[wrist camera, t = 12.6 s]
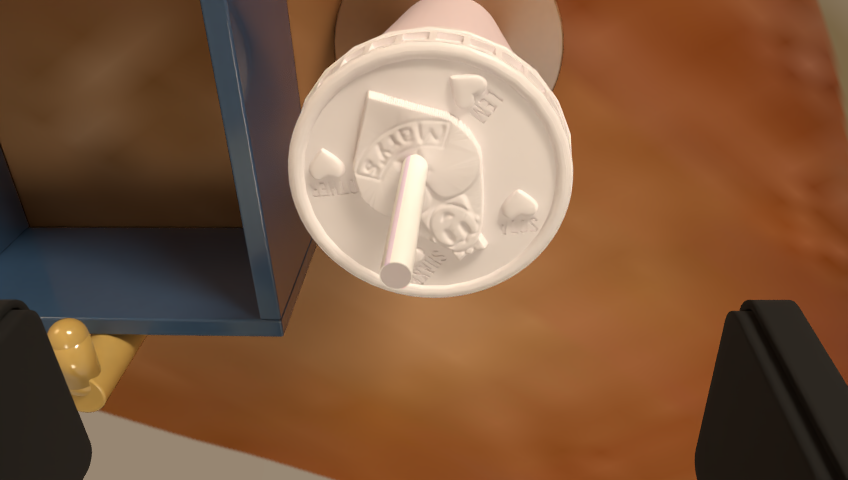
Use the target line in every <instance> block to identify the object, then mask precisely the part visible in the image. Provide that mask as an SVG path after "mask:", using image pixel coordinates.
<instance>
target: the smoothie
mask: <svg viewBox="0 0 848 480" xmlns="http://www.w3.org/2000/svg"><path fill="white" fill-rule="evenodd" d="M288 175H289V184H290V189H291V193H292V197H293V201H294V204H295V207H296V209H297V212H298V214H299V216H300V218H301V220H302V222H303V224H304V226H305V227H306V229H307V231H308V232H309V234H310V235H311V237H312V238H313V239H314V241H315V242H316V243H317V244H318V246H319V247H320V248H321V249H322V250H323V251H324V252H325V253H326V254H327V255H328V256H329V257H330V258H331V259H332V260H333V261H334V262H336V263H337V264H338V265H339V266H341V267H342V268H343V269H345V270H346V271H348V272H349V273H351V274H352V275H354V276H356V277H357V278H359V279H361V280H363V281H365V282H367V283H369V284H371V285H374V286H376V287H379V288H382V289H384V290H387V291H391V292H394V293H398V294H403V295H408V296H416V297H428V298H442V297H454V296H461V295H466V294H471V293H475V292H478V291H481V290H485V289H487V288H490V287H492V286H495V285H497V284H499V283H501V282H503V281H505V280H507V279H509V278H511V277H512V276H514V275H516V274H517V273H519V272H520V271H521V270H523V269H524V268H525V267H527V266H528V265H529V264H530V263H531V262H533V261H534V260H535V259H536V258H537V257H538V256H539V255H540V254H541V253H542V251H543V250H544V249H545V248H546V247H547V246H548V244H549V243H550V242H551V240H552V239H553V237H554V236H555V234H556V232H557V231H558V229H559V227H560V225H561V223H562V221H563V219H564V217H565V214H566V211H567V208H568V205H569V201H570V197H571V192H572V183H573V163H572V153H571V134H570V131H569V129H568V126H567V123H566V120H565V117H564V115H563V112H562V109H561V106H560V103H559V101H558V99H557V98H556V97H555V95H554V94H553V92H552V91H551V90H550V88H549V87H548V86H547V84H546V83H545V82H544V80H543V79H542V77H541V76H540V75H539V73H538V72H537V71H536V70H535V69H534V68H533V67H531V66H530V65H529V64H527V63H526V62H525V61H524V60H522V59H521V58H520V57H518V56H517V55H516V54H515V53H513V51H512V50H511V48H510V46H509V44H508V43H507V41H506V39H505V38H504V36H503V34H502V33H501V31H500V29H499V27H498V26H497V24H496V22H495V21H494V19H493V18H492V16H491V15H490V14H489V13H488V12H487V11H486V10H485V9H484V8H483V7H482V6H481V5H479V4H478V3H476V2H475V1H473V0H421V1H419V2H417V3H416V4H414V5H413V6H411V7H410V8H409V9H408V10H407V11H406V12H405V13H404V14H403V15H402V16H401V17H400V18H399V19H398V20H397V21H396V22H395V23H394V24H393V25H391V26H390V27H389V28H388V29H387V30H386V31H385V32H384V33H383V34H382V35H380V36H378V37H376V38H373V39H371V40H368V41H366V42H364V43H361V44H359V45H357V46H354V47H353V48H352V49H351V50H349V51H348V52H347V53H346V54H344V55H343V56H342V57H341V58H339V59H338V60H337V61H336V62H334V63H333V64H332V65H331V66H329V67H328V68H327V69H326V70H325V71H324V72H323V74H322V75H321V77H320V78H319V80H318V81H317V82H316V84H315V85H314V87H313V88H312V90H311V91H310V93H309V94H308V96H307V97H306V98H305V101H304V104H303V107H302V110H301V113H300V116H299V118H298V120H297V122H296V125H295V128H294V131H293V134H292V138H291V142H290V147H289V156H288Z"/></svg>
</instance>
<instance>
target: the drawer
mask: <svg viewBox="0 0 848 480" xmlns="http://www.w3.org/2000/svg"><path fill="white" fill-rule="evenodd" d="M200 3H201V9H202V14H203V19H204V25H205V30H206V35H207V40H208V46H209V51H210V56H211V61H212V67H213V72H214V77H215V82H216V88H217V93H218V98H219V104H220V109H221V114H222V119H223V125H224V130H225V135H226V140H227V146H228V151H229V156H230V161H231V167H232V172H233V177H234V183H235V188H236V193H237V198H238V204H239V209H240V214H241V219H242V225H243V228H117V227H29V224H28V221H27V218H26V216H25V213H24V210H23V207H22V205H21V202H20V199H19V196H18V194H17V191H16V188H15V185H14V182H13V180H12V177H11V174H10V171H9V169H8V166H7V163H6V160H5V158H4V155H3V152H2V149H1V147H0V299H16V300H21V301H23V302H24V303H25V304H26V305H27V306H28V308H29V310H33V311H35V312H37V313H38V314H39V316H40V318H41V320H42V323H43V325H44V328H45V330H46V333H47V335H48V338H49V340H50V343H51V345H52V348H53V350H54V353H55V355H56V358H57V360H58V363H59V365H60V368H61V370H62V373H63V375H64V378H65V380H66V383H67V385H68V388H69V390H70V393H71V395H72V398H73V400H74V403H75V405H76V408H77V410H78V411H80V412H87V413H88V412H95V411H98V410H99V409H101V408H102V407H103V406H104V405H105V404H106V402H107V400H108V399H109V397H110V396H111V394H112V392H113V391H114V389H115V387H116V386H117V384H118V383H119V381H120V379H121V378H122V376H123V374H124V373H125V371H126V369H127V368H128V366H129V365H130V363H131V361H132V360H133V358H134V356H135V355H136V353H137V352H138V350H139V348H140V347H141V345H142V343H143V342H144V340H145V338H146V337H147V335H195V336H273V337H282V336H284V333H285V330H286V328H287V325H288V322H289V319H290V317H291V314H292V311H293V308H294V306H295V303H296V300H297V297H298V295H299V292H300V289H301V286H302V284H303V281H304V278H305V275H306V273H307V270H308V267H309V264H310V262H311V259H312V256H313V253H314V251H315V248H316V245H317V243H316V242H315V241H314V239H313V238H312V237H311V235H310V234H309V232H308V231H307V229H306V227H305V226H304V224H303V222H302V220H301V218H300V216H299V214H298V212H297V209H296V207H295V204H294V201H293V197H292V193H291V189H290V184H289V175H288V156H289V147H290V142H291V138H292V134H293V131H294V128H295V125H296V122H297V120H298V118H299V116H300V113H301V108H300V101H299V93H298V85H297V78H296V70H295V62H294V55H293V47H292V39H291V32H290V24H289V17H288V9H287V1H286V0H200ZM90 334H91V336H90Z"/></svg>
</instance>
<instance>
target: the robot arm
mask: <svg viewBox="0 0 848 480" xmlns="http://www.w3.org/2000/svg"><path fill="white" fill-rule="evenodd" d="M91 456H92V448H91V443H90V440H89V438H88V435H87V433H86V431H85V428H84V426H83V423H82V420H81V418H80V415H79V413H78V410H77V408H76V405H75V403H74V400H73V398H72V395H71V393H70V390H69V388H68V385H67V383H66V380H65V378H64V375H63V373H62V370H61V368H60V365H59V363H58V360H57V358H56V355H55V353H54V350H53V348H52V345H51V343H50V340H49V338H48V335H47V333H46V330H45V328H44V325H43V323H42V320H41V318H40V316H39V314H38V313H37V312H35V311H33V310H29V308H28V306H27V305H26V304H25V303H24V302H23V301H21V300H16V299H0V480H83V478H84V476H85V474H86V473H87V471H88V468H89V466H90V462H91ZM695 470H696V476H697V480H848V386H847V385H846V383H845V381H844V380H843V378H842V376H841V375H840V373H839V372H838V370H837V368H836V367H835V365H834V363H833V362H832V360H831V358H830V357H829V355H828V354H827V352H826V350H825V349H824V347H823V345H822V344H821V342H820V341H819V339H818V337H817V336H816V334H815V332H814V331H813V329H812V327H811V326H810V324H809V323H808V321H807V319H806V318H805V316H804V314H803V313H802V311H801V309H800V308H799V306H798V305H797V304H796V303H795V302H794V301H791V300H747V301H744V303H743V304H742V305H741V308H740V311H731V312H729V313H728V314H727V316H726V319H725V323H724V328H723V332H722V337H721V341H720V346H719V350H718V354H717V359H716V363H715V368H714V372H713V376H712V381H711V385H710V390H709V394H708V398H707V403H706V407H705V412H704V416H703V420H702V425H701V429H700V434H699V438H698V443H697V447H696V452H695Z"/></svg>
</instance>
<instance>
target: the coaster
mask: <svg viewBox="0 0 848 480" xmlns="http://www.w3.org/2000/svg"><path fill="white" fill-rule="evenodd" d="M419 1H421V0H342V2H341V5H340V8H339V11H338V15H337V19H336V24H335V34H334V51H335V59H336V61H337V60H338V59H339V58H341V57H342V56H343V55H344V54H346V53H347V52H348V51H349V50H351V49H352V48H353V47H354V46H357V45H359V44H361V43H364V42H366V41H368V40H371V39H373V38H376V37H378V36H380V35H382V34H383V33H384V32H385V31H386V30H387V29H388V28H389V27H390V26H391V25H393V24H394V23H395V22H396V21H397V20H398V19H399V18H400V17H401V16H402V15H403V14H404V13H405V12H406V11H407V10H408V9H409V8H410V7H411V6H413V5H414V4H416V3H417V2H419ZM473 1H475V2H476V3H478V4H479V5H481V6H482V7H483V8H484V9H485V10H486V11H487V12H488V13H489V14H490V15H491V16H492V18H493V19H494V21H495V22H496V24H497V26H498V27H499V29H500V31H501V33H502V34H503V36H504V38H505V39H506V41H507V43H508V44H509V46H510V48H511V50H512V51H513V53H515V54H516V55H517V56H518V57H520V58H521V59H522V60H524V61H525V62H526V63H527V64H529V65H530V66H531V67H533V68H534V69H535V70H536V71H537V72H538V73H539V75H540V76H541V77H542V79H543V80H544V82H545V83H546V84H547V86H548V87H549V88H550V90H551V91H552V92H553V89H554V87H555V85H556V82H557V80H558V76H559V73H560V69H561V65H562V58H563V50H564V34H563V27H562V20H561V16H560V13H559V9H558V6H557V2H556V0H473Z"/></svg>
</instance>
